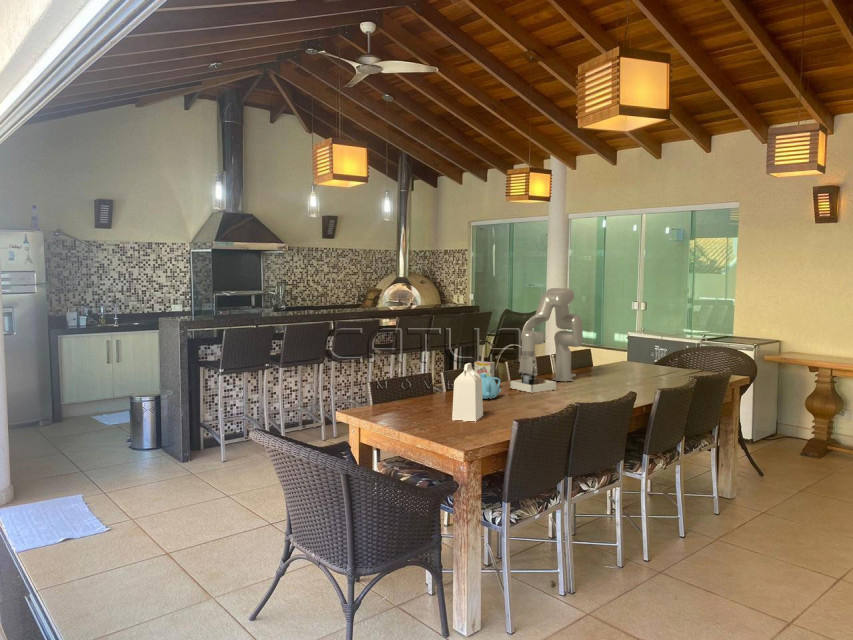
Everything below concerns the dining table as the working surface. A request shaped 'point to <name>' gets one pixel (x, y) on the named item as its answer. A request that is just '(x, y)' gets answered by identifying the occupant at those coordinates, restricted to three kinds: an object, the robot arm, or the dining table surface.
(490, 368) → the candy bar box
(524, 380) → the slate capsule
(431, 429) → the dining table surface
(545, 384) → the tote
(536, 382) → the walnut cube
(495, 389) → the decorative pot
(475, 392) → the milk
